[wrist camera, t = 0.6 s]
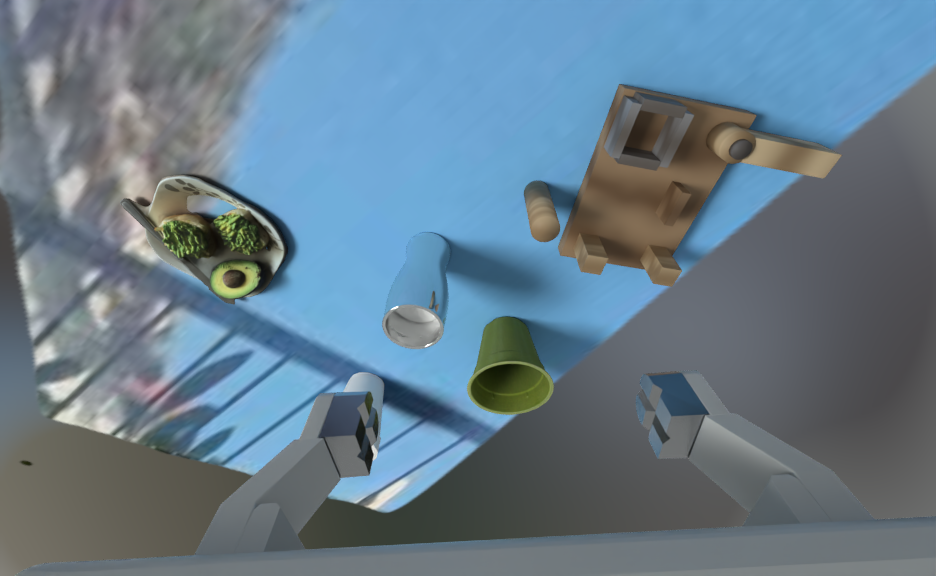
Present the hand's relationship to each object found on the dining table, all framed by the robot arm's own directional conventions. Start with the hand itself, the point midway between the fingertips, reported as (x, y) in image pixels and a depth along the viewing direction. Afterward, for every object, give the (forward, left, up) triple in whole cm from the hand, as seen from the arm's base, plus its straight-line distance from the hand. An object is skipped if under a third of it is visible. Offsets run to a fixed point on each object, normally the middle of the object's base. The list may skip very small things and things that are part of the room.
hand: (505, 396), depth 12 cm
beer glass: (+20, -4, -38) cm, 43 cm away
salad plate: (+24, -32, -38) cm, 55 cm away
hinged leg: (-1, +28, -35) cm, 45 cm away
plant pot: (+33, +10, -38) cm, 51 cm away
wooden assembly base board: (+6, +20, -37) cm, 43 cm away
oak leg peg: (+9, +8, -37) cm, 39 cm away
